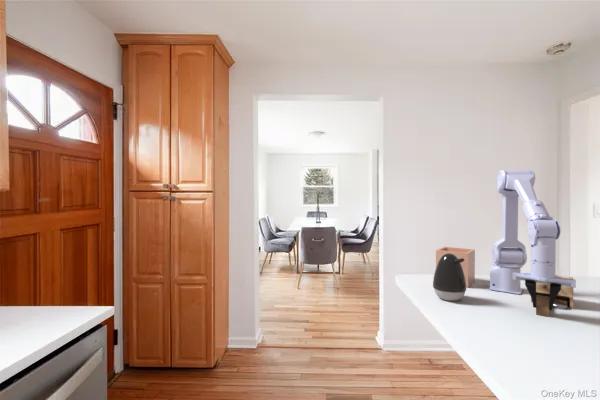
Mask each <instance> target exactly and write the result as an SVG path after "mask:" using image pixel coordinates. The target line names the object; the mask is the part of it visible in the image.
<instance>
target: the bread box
mask: <svg viewBox="0 0 600 400" xmlns="http://www.w3.org/2000/svg"><path fill="white" fill-rule="evenodd" d="M555 276H556V277H562V278H568V279H574V277H573V276H566V275H559V274H558V275H557V274H555ZM537 295H540V296H547V297H550V284H547V283H539V282H536V296H537ZM556 298H558V299H565V300H567V303H569V309H571V310H574V288H573V287H569V286H562V285H561V290H560V292H559V293H558V295H557V297H556ZM530 302H531V303H532V299H531V298H530Z"/></svg>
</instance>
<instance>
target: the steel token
mask: <svg viewBox="0 0 600 400" xmlns="http://www.w3.org/2000/svg"><path fill="white" fill-rule="evenodd" d="M552 309H556V310H561V311H562V310H564V311H566V310H568V303H567V304H564V303H560V302H554V303H553V307H552Z"/></svg>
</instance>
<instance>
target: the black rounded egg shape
mask: <svg viewBox="0 0 600 400" xmlns="http://www.w3.org/2000/svg"><path fill="white" fill-rule="evenodd" d="M463 261H464V259H463V258H461V259H458V258H457V257H456V256H455V255H453V254H450V253H447V254H444V255H443V256H442V257H441V258H440V260H439V262H438V264H437V267H436V266H435V271H434V273H433V274H434V275H433V280H432V288H433V290H434V293H435V294H436V296H437V297H438V298H440V299H441V300H444V301H448V302H458V301H459V300H461V299H462V298H463V297H464V296H465V294H466V292H467V288H466V280H465V275H464V272H463V268H462V266H461V262H463Z"/></svg>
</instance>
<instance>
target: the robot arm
mask: <svg viewBox="0 0 600 400" xmlns="http://www.w3.org/2000/svg"><path fill="white" fill-rule="evenodd" d="M496 182H497V184H496V189H497V193H498V194H501V195H502V196H501V197H502V200H501V201H502V204H501V207H502V209H501V210H502V211H501V214H502V215H501V217H502V218H501V238H499V239H498V240H496V241H495V242H494V243H493V244H492V250H491V260H492V263H493V264H491V265H490V269H489V290H491V291H497V292H501V293H502V292H503V293H509V294H510V293H511V294H514V295H516V294H517V295H521V294H522V291H523V288H522V287H521V281H524V285H525V287H526V289H527V292H528V294H529V296H530V300H531V299H532V302H531V303H532V307H533V308H535V309H536V282H539V283H547V284H550V303H549V311H553V303H554V301H555V298H556V297H557V295H558V293H559V292H560V290H561V285H562V286H569V287H573V289H576V288H577V281H576V279H575V278H573V279H568V278H562V277H556V276H555V275H556V263H557V261H556V256H557V255H556V250H557V249H556V248H557V246H556V243H557V242H556V241H557V240H558V239H559V238H560V235H561V232H562V231H561V225H560V222H559V220H558V219H556V218H554V216H550V214H549V212H548V210H547V207H546V206H545V203H544V202H543V201H542V200H539V199H538V198H537V194H536V193H535V189H534V185H535V183H536V175H535V172H534V171H533V169H531V168H530V169H528V168H527V169H507V170H506V169H501V170H500V171H499V172H498V174H497V179H496ZM519 198H520V200H521V201H522V203H523V205H522V206H521V210H522V212H523V214H524V218H525V219H526V222H527V226H526V227H527V228H526V232H527V236H528V243H529V245H530V272H521V269H522V268H523V267H524V266H525V265H526V264H527V261H528V260H527V259H528V255H527V251H526V245H525V244H524V243H522V242H521V241H519V240H518V238H519V237H518V233H519Z"/></svg>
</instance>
